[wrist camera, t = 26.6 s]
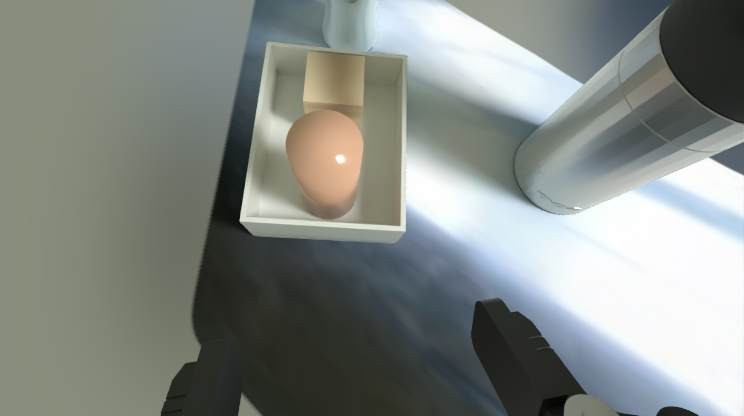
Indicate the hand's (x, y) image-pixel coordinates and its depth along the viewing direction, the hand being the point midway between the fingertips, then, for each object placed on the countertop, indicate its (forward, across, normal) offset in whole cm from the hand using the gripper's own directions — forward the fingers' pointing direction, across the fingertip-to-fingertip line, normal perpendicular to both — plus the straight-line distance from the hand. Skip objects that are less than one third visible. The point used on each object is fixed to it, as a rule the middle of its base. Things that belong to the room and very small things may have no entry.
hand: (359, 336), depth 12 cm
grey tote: (+25, -1, +3) cm, 25 cm away
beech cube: (+28, -2, -1) cm, 28 cm away
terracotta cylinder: (+21, 0, +5) cm, 22 cm away
